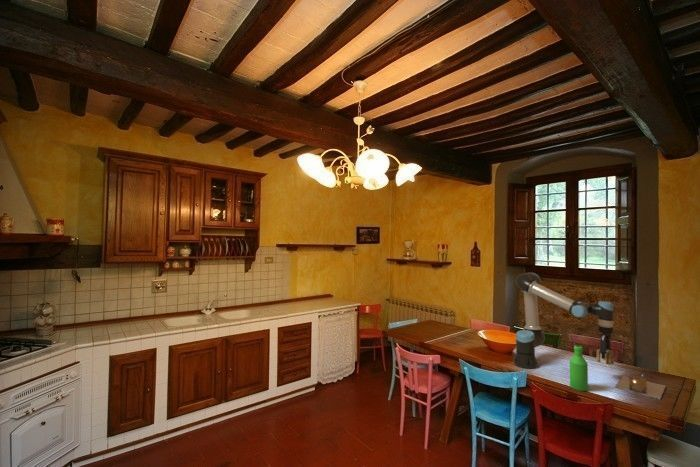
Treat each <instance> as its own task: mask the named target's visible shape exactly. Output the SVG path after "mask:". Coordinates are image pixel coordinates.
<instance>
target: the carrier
mask: <svg viewBox="0 0 700 467" xmlns="http://www.w3.org/2000/svg"><path fill="white" fill-rule="evenodd" d="M645 375H646V374H645V373H643V372H640V376H638V375H629V376H627V375H622V376H621V378H619V381H618V382H617V383H616V384H615V386H614V388H616V389H620V390H623V391H627V392H630V391H631V392H630V393H634V394H637V393H638V395H641V394H642V396H645V397H649V396H650V397H649V398H652V397H653V398H654V399H656V398H657V400H661V399H662V397H663V394H664V392H665V391H666V385H664V384H659V383H655V382H652V381H647V379H646V378H645V377H646V376H645Z"/></svg>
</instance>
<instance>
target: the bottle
mask: <svg viewBox="0 0 700 467" xmlns="http://www.w3.org/2000/svg"><path fill="white" fill-rule="evenodd" d="M573 349H574V355H573V356H572V357H571V358H570V359H569V386H570V387H571V388H572V389H574V390H576V391H580V392H585V391H587V390H588V389H589V383H588V382H589V374H588V373H589V372H588V371H589V368H588V365H589V364H588V362H587V361H586V359H585V358H584V357H583V350H584V348H583V346H581V345H574V346H573Z"/></svg>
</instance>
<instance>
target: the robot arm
mask: <svg viewBox="0 0 700 467" xmlns="http://www.w3.org/2000/svg"><path fill="white" fill-rule="evenodd" d="M541 283H542V280H541V277H540V276H539V275H538V274H536V273H535V272H525V273H520V274H517V275H516V277H515V284H516V286H517V287H518V288H519V289H520V290H521V292H522V293H523V300H524V315H525V325H524V327H523V330H522V329H521V330H518V331H517V332H516V334H515V345H516V346H515V350H516V351H515V356H514V358H513V364H514V366H516V365H517V367H518V366H519V367H518V368H521V367H522V369H527V370H534V369H537V368H538V367H539V364H538V361H537V358H536V356H535V355H536V353H535V352H536V351H535V350H536V348H537V347H540V346H541V345H543V343H544V342H545V339H546V338H545V337H546V336H545V333H544V332H543V329H542V327H541V326H540V321H539V320H540V318H539V303H538V302H539V301H538V297H540V298H542V299H543V300H545V301H548V302H549V303H552V304H554V305H556V306H558V307H560V308H562V309H564V310H566V311H568V312H570V313H572V315H573V316H574V317H576V318H578V319H579V318H580V319H581V318H584V317H586V316H589V315H592V316H597V317H598V319H597V320H598V321H597V322H598V325H597V326H598V327H597V331H598V332H599V333H601V335H600V337H599V338H600V343H599V344H600V346H599V349H600V351H599V353H601V362H600V364H602V363H603V365H607V364H606V350H608V351H612V348H611V347H612V346H611V334H614V324H615V322H614V311H615V310H614V304H613V303H612V302H610V301H607V300H606V301H602V300H601V301H598V303H594V302H586V301H575V300H574V299H571V298H568V297H567V296H564V295H563V294H560V293H558V292H556V291H554V290H552V289H550V288H548V287H545V286H543V285H541Z"/></svg>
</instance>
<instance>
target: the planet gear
mask: <svg viewBox="0 0 700 467" xmlns="http://www.w3.org/2000/svg"><path fill="white" fill-rule="evenodd" d="M599 351H600V348H599V349H598V348H597V349H596V361H597V362H598V363H601V353H599ZM614 357H615V353H614V351H613V350H610V351H608V350H606V364H605V365H609V366H610V365H614V361H615V358H614ZM601 364H603V363H601ZM603 365H604V364H603Z"/></svg>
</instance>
